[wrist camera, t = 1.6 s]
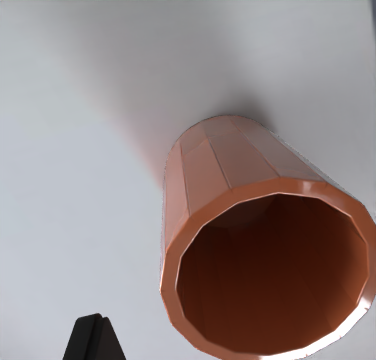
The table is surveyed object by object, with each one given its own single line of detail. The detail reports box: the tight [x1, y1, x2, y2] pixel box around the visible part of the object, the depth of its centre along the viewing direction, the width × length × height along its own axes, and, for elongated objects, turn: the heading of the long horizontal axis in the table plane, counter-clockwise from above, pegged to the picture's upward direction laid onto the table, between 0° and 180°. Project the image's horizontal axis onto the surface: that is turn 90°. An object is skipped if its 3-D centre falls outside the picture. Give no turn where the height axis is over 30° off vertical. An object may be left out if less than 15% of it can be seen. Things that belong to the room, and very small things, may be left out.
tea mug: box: [159, 115, 376, 360], centre depth 15 cm, size 10×7×9 cm
